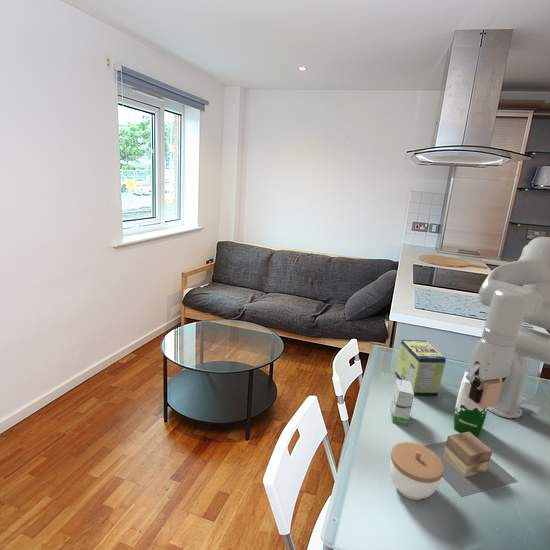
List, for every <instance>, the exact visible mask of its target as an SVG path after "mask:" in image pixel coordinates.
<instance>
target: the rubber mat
mask: <svg viewBox="0 0 550 550" xmlns="http://www.w3.org/2000/svg"><path fill="white" fill-rule="evenodd" d="M446 442H447V440H445V441H440V442H436V443H432V444H426V445H423V446H424V447H426V448H428V449H430V450H431V451H433V452H434V453H435V454H436V455H437V456H438V457H439V458H440V460H441V461H442V463H443V466H444V473H443V475H442V478H443V480H445V481H446V482H447V484H448V485H449V486H450V487H451V488H452V489H453V490H454V491H456V493H457V494H458V495H459V496H460V497H461V498H463V497H467V496H470V495H471V496H472V495H474V494H478V493H482V492H484V491H485V492H486V491H488V490H492V489H495V488H499V487H503V486H504V487H505V486H507V485H512V484H514V483H518V482H519V481H518V480H517V479H516V478H515V477H513V476H512V475H511V474H510V473H509V472H508V471H507V470H506V469H504V468H503V467H502V466H501V465H500V464H498V463H497V462H496V461H495V460H494V459H492V458H490V461H489V464H488V468H487V471H486V472H483V473H479V474H475V475H471V476H467V477H464V476H463V475H461V474H460V473H459V472H458V471H457V470H456V469H455V468H454V467H453V466H452V465H451V464H450V463H449V462H448V461H447V460H446V459H445V458H444V457H443V453H444V449H445V445H446Z"/></svg>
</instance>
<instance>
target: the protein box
mask: <svg viewBox="0 0 550 550" xmlns="http://www.w3.org/2000/svg"><path fill="white" fill-rule="evenodd" d="M446 361H447V358H446V357H445V356H444V355H442V354H441V353H440V352H439V350H437V349H436V348H435V347H433V346H432V345H431V344H430V343H429V342H428V341H427V340H423V339H422V340H421V339H420V340H419V339H418V340H417V339H414V340H413V339H401V342H400V347H399V353H398V357H397V362H396V369H395V372H394V375H395V374H396V375H397V376H396V375H395V376H396V377H397V379H398V378H399V379H400V380H405V381H409V382H411V385H412V388H413V392H414V397H415V396H416V397H418V396H420V397H423V396H424V397H426V396H430V397H431V396H432V397H437V396H438V395H439V391H440V386H441V382H442V379H443V374H444V369H445V366H446Z"/></svg>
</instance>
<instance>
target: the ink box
mask: <svg viewBox="0 0 550 550" xmlns="http://www.w3.org/2000/svg"><path fill="white" fill-rule="evenodd" d="M414 397H415V396H414V392H413V388H412V385H411V382H409V381H405V380H400V379H398V378H397V379H396V381H395V384H394V390H393V394H392V400H391V403H390V408H389V409H390V416H391V422H392V424H397V425H402V426H408V424H409V420H410V417H411V416H410V415H411V412H412V411H411V410H412V406H413V401H414Z"/></svg>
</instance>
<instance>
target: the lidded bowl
mask: <svg viewBox="0 0 550 550" xmlns="http://www.w3.org/2000/svg"><path fill="white" fill-rule="evenodd" d="M424 446H425V445H421V444H419V443H417V442H416V443H415V442H412V441H411V442H409V441H403V442H398V443H396V444H395V445H394V446H393V447H392V449H391V451H390V459H389V473H390V477H391V481H392V483H393V484H394V486H395V488H396V489H397V491H398V492H399V493H400V494H401V495H403V496H404V497H406V498H408V499H410V500H414V501H419V500H422V499H426V498H429V497H430V496H433V494H434V493H436V491H437V490H438V487H439V485H440V483H441V481H442V478H443V477H442V475H443V473H444V466H443V463H442V461H441V460H440V458H439V457H438V456H437V455H436V454H435V453H434V452H433V451H431V450H430V449H428V448H426V447H424Z"/></svg>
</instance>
